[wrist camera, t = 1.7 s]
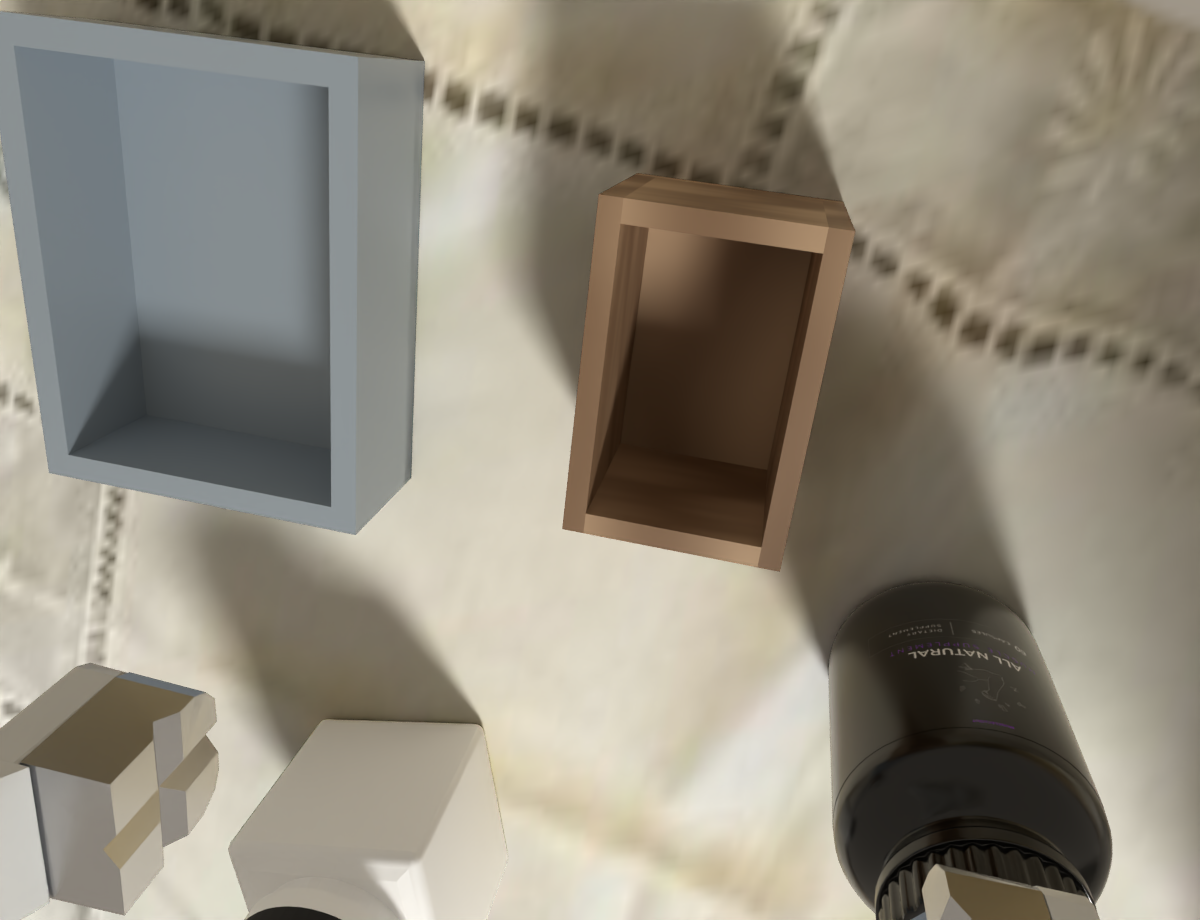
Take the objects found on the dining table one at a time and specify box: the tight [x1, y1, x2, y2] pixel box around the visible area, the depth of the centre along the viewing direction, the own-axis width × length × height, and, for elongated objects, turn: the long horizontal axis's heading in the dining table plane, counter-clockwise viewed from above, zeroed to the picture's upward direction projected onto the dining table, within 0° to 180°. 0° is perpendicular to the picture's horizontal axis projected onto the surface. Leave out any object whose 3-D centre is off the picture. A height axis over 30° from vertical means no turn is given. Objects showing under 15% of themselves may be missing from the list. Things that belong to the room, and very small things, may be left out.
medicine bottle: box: [228, 719, 508, 920], centre depth 32 cm, size 7×7×12 cm
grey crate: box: [0, 11, 425, 535], centre depth 28 cm, size 11×14×4 cm
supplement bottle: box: [829, 582, 1112, 920], centre depth 26 cm, size 7×7×12 cm
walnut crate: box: [562, 173, 855, 572], centre depth 26 cm, size 6×9×6 cm, turn 174°
